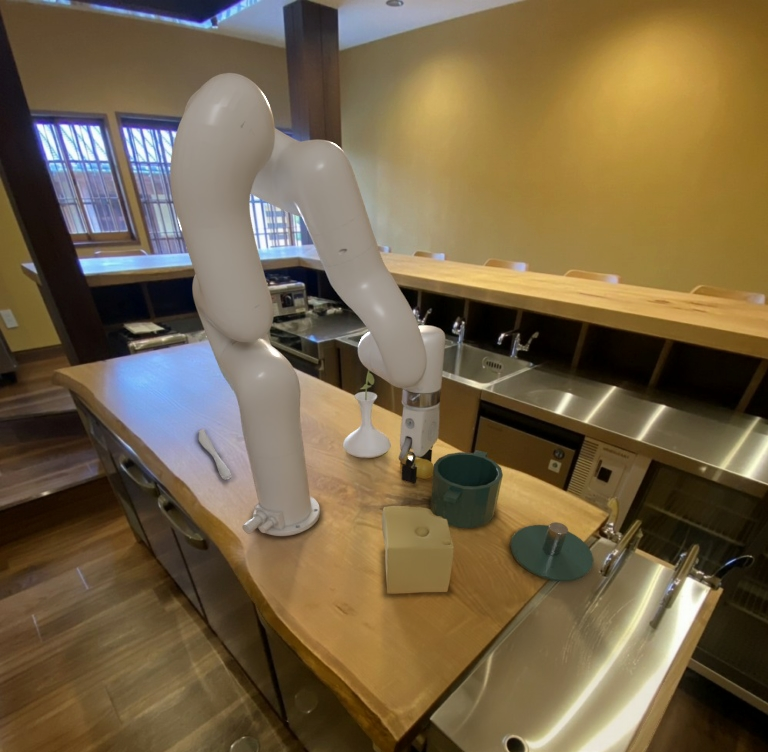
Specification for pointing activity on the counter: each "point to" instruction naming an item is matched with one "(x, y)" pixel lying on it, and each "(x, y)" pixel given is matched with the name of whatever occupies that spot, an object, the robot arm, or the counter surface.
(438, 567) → the cheese
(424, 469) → the yellow capsule
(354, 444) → the flower in vase
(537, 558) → the lid
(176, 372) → the counter surface
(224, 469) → the butter knife
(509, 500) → the counter surface
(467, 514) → the pot
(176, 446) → the counter surface
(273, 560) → the counter surface
